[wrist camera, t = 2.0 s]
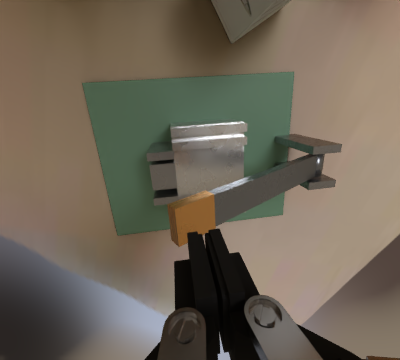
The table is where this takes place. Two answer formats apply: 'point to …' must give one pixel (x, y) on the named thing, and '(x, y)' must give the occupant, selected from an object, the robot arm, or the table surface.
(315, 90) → the table surface
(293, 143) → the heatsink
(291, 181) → the grey and orange bar
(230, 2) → the supplement box
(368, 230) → the table surface
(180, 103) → the pcb board
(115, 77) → the table surface
